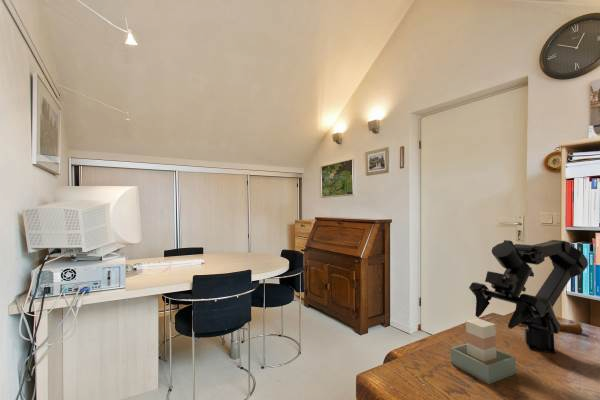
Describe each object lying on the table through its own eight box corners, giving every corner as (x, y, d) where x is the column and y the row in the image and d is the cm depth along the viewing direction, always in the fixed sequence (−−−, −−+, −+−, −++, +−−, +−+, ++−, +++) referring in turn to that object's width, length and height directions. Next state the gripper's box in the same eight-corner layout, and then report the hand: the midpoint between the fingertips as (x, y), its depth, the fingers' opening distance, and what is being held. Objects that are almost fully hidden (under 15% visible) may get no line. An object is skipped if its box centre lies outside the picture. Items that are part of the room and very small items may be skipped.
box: (476, 354, 87) (476, 340, 87) (515, 373, 77) (515, 357, 77) (450, 363, 83) (450, 348, 83) (488, 383, 73) (488, 366, 73)
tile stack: (479, 360, 83) (477, 318, 83) (497, 368, 78) (495, 324, 79) (467, 363, 81) (465, 320, 82) (484, 373, 76) (482, 327, 77)
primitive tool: (515, 326, 108) (514, 317, 108) (512, 321, 113) (512, 312, 113) (584, 337, 99) (583, 326, 99) (578, 331, 103) (578, 321, 104)
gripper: (471, 257, 93) (448, 296, 89) (537, 266, 76) (513, 315, 72) (488, 278, 96) (467, 317, 92) (556, 292, 79) (534, 341, 74)
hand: (492, 321), depth 82 cm, fingers open, 9 cm apart
